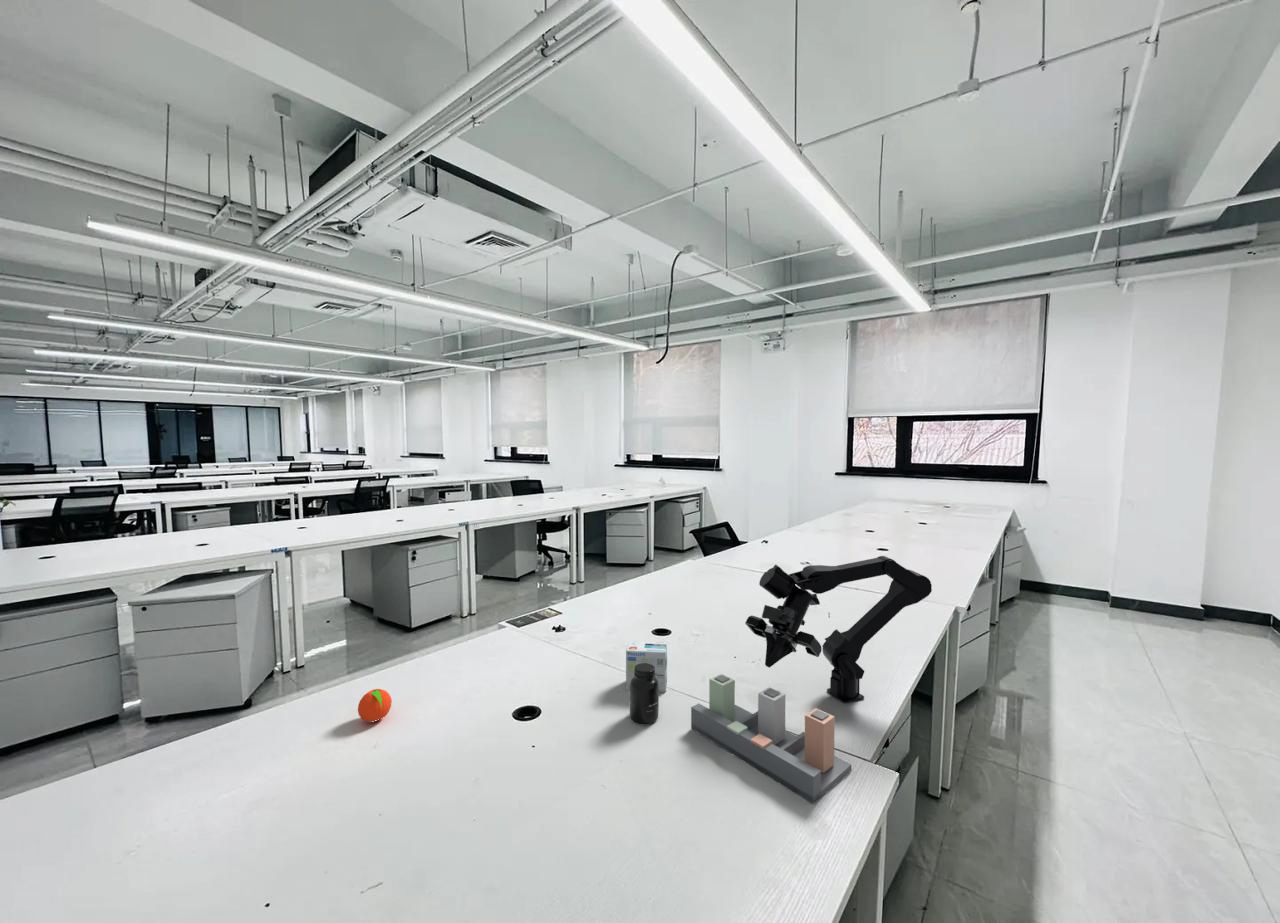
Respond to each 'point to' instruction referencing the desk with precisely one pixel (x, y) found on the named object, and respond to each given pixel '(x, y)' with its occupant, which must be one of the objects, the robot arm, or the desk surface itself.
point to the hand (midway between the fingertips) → (767, 666)
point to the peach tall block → (819, 739)
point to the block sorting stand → (768, 752)
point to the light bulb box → (647, 660)
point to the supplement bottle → (644, 695)
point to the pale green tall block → (722, 696)
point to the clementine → (374, 705)
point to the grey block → (771, 715)
